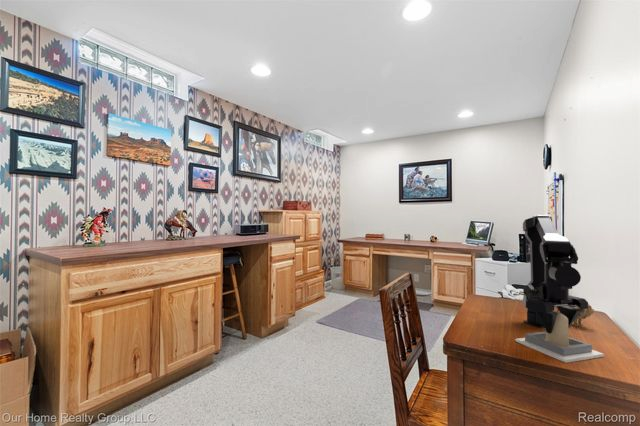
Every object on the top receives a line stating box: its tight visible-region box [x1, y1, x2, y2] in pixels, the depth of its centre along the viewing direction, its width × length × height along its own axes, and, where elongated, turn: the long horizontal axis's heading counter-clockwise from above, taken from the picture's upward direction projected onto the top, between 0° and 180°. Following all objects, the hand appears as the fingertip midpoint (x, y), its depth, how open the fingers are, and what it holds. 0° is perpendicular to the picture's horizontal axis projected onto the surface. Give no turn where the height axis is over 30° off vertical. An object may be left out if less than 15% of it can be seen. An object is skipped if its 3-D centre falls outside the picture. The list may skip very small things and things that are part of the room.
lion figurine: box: [557, 303, 595, 327], centre depth 114 cm, size 15×5×9 cm, turn 14°
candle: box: [545, 310, 570, 347], centre depth 90 cm, size 6×6×10 cm
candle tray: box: [515, 331, 604, 364], centre depth 90 cm, size 15×15×3 cm
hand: (556, 332), depth 90 cm, fingers open, 6 cm apart
